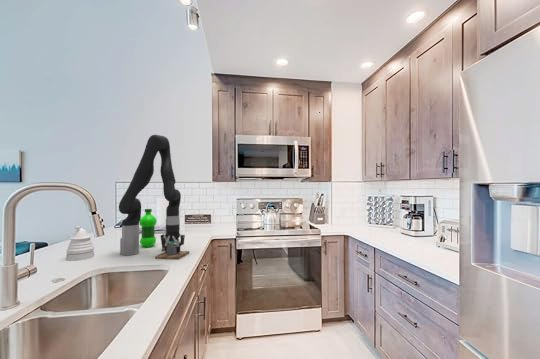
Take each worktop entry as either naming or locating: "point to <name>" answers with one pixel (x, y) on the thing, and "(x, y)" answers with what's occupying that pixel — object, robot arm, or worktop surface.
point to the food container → (169, 243)
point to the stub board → (177, 256)
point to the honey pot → (80, 246)
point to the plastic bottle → (148, 229)
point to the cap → (172, 249)
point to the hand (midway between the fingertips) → (172, 252)
